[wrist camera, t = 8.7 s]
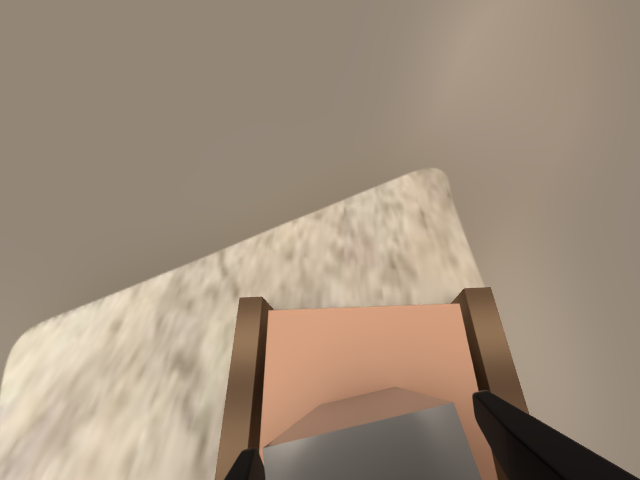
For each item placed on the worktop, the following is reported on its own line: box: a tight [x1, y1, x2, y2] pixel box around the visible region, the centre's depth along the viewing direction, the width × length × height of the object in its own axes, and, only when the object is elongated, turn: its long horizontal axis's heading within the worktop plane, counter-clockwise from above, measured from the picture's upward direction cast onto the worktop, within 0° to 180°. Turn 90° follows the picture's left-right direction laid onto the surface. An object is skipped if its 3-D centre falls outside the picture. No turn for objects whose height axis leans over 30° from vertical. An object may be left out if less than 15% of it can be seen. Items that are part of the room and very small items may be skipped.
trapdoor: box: [259, 304, 498, 480], centre depth 18 cm, size 10×12×4 cm
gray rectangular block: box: [262, 387, 482, 480], centre depth 11 cm, size 4×4×11 cm
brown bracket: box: [215, 287, 529, 480], centre depth 19 cm, size 12×16×5 cm
